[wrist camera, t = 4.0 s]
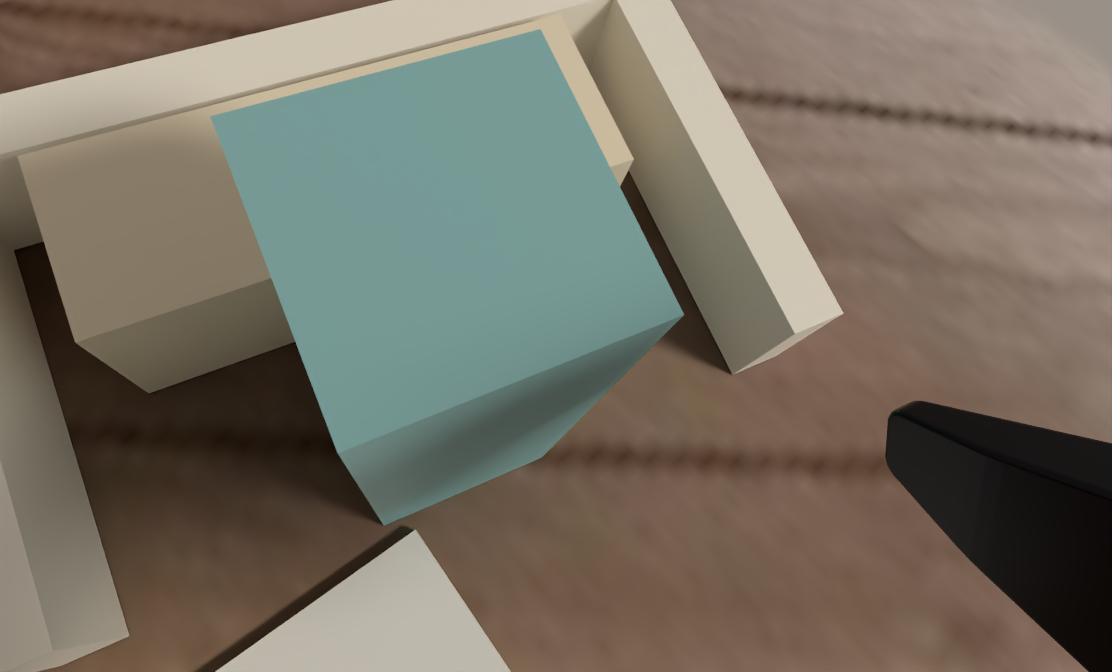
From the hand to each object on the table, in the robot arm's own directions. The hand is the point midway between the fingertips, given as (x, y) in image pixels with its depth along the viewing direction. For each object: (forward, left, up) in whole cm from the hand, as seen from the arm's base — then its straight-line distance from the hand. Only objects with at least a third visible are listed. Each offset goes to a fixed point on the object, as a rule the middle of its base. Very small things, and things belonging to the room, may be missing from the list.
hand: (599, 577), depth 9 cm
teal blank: (+4, +3, -11) cm, 12 cm away
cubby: (+6, +5, -11) cm, 14 cm away
